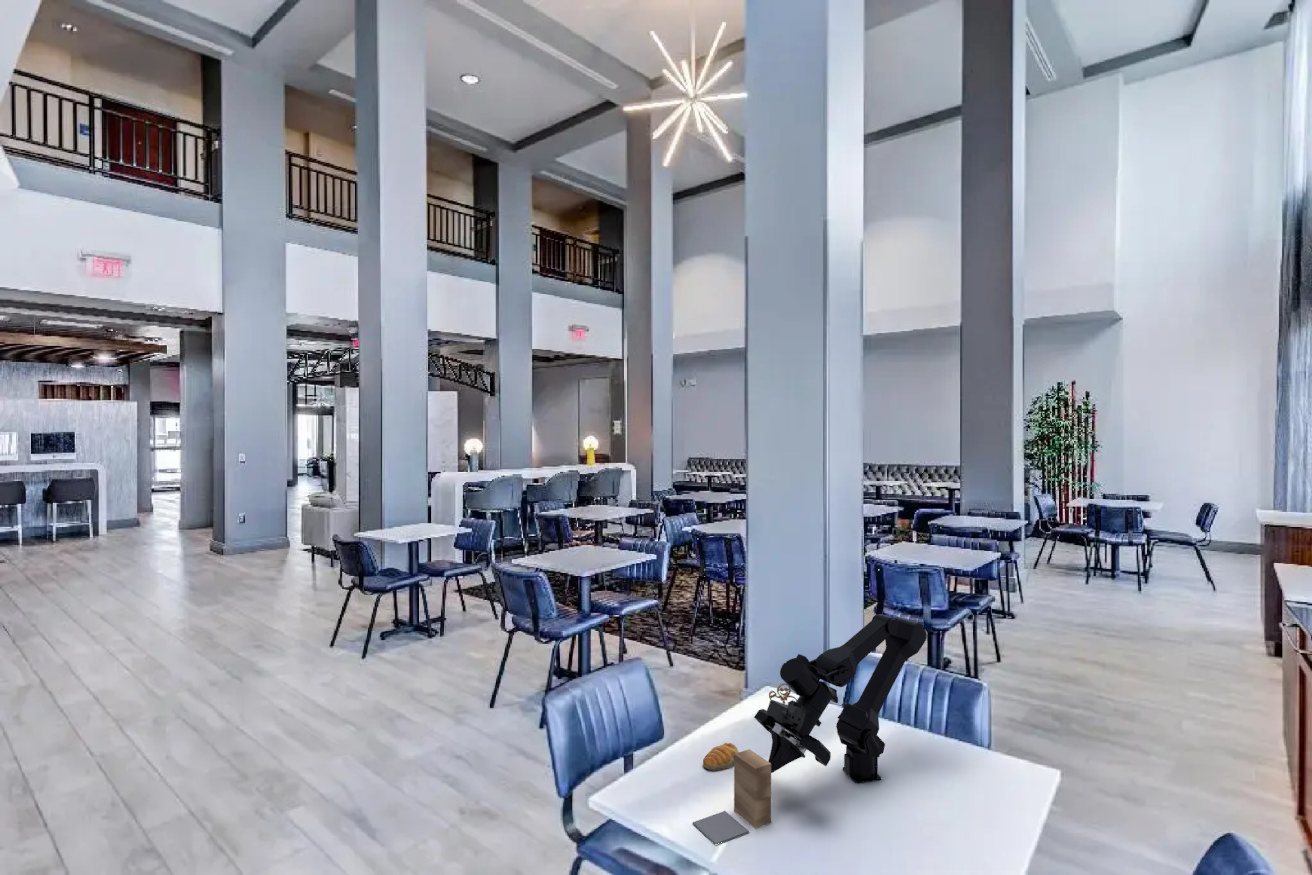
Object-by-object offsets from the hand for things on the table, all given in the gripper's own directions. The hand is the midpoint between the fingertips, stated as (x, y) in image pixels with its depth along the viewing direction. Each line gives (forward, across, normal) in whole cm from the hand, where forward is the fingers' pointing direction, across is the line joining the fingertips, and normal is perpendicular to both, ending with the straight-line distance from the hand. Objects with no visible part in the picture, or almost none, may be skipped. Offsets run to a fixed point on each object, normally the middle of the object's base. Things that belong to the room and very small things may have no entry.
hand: (768, 771), depth 140 cm
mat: (+14, 0, -3) cm, 15 cm away
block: (+9, 0, +3) cm, 9 cm away
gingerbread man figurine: (-14, -28, +26) cm, 40 cm away
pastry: (+4, -21, +8) cm, 23 cm away
